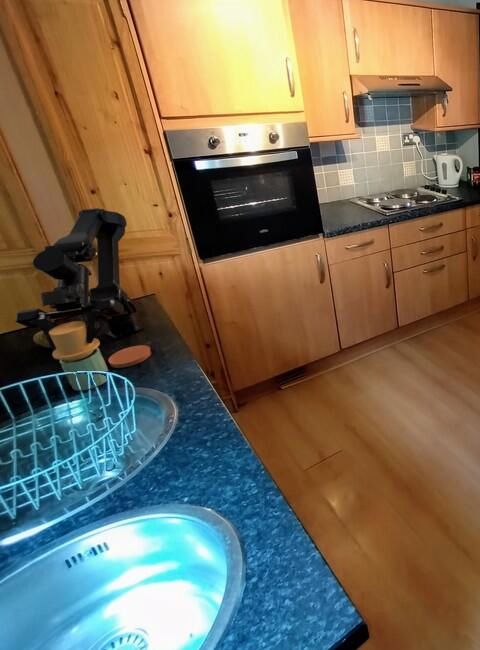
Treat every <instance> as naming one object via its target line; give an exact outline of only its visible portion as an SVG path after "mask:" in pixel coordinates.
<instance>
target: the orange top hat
mask: <svg viewBox="0 0 480 650" xmlns="http://www.w3.org/2000/svg"><path fill="white" fill-rule="evenodd" d="M58 325H59V326H56V327H54V328H53V329H51V330H50V331H49V334H50V336H51V338H52V341H53V343H54V345H55V347H56V349H55V350H53V351H52V354H51V355H52V357H53V359H55V360H59V361H60V360H64V359H66V360H68V361H72V360H78V359H81V358H84V357H86V356H88V355H90V354H91V353H92V352H93V350H95V349H96V348H99V346H100V345H101V342H100V340H99V339H98V338H97V337H95V338H94V340H93V341H92V343H90V344H89V343H87V327H88V326H87V324H86V322H85V321H83V320H74V321H69V322H64V323H62V324H61V323H60V324H58Z"/></svg>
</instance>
